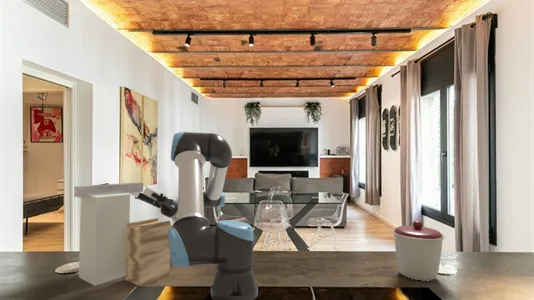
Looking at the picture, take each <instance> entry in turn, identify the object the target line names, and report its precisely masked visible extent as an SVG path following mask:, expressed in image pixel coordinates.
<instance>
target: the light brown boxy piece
mask: <svg viewBox="0 0 534 300" xmlns="http://www.w3.org/2000/svg"><path fill="white" fill-rule="evenodd" d="M171 228H172V224H171V220H165V221H159V218H156V217H155V218H150V219H145V220H140V221H139V220H138V221H134V222H133V221H132V222H130V223H127V246H126V276H125V280H126V281H128V282H130V283H132V284H134V285H136V286H138V287H141V286H146V285H149V284H150V283H154V282H156V281H158V280H162V279H165V278H167V277H170V273H171V271H170V270H171V268H170V267H171V258H170V250H169V239H168V230H169V229H171Z"/></svg>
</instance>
